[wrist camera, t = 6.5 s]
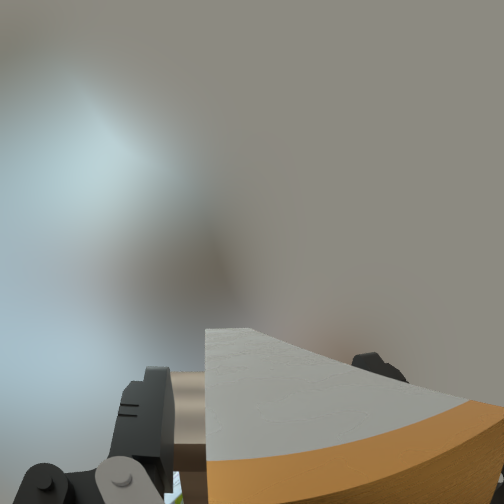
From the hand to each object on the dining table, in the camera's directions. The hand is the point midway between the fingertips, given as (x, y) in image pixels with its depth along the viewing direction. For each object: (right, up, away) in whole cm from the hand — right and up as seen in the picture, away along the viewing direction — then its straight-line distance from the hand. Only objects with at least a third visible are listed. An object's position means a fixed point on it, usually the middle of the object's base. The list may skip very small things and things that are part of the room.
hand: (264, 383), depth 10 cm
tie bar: (-1, -4, +4) cm, 6 cm away
